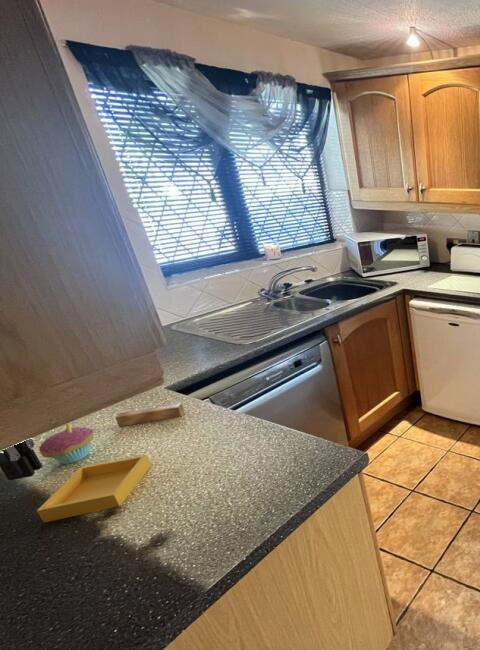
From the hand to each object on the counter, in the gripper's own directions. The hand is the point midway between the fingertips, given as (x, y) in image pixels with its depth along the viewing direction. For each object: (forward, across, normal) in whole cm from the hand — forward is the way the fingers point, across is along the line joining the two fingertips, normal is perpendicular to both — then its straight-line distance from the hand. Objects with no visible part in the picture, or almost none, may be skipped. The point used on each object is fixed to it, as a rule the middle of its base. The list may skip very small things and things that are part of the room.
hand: (26, 473), depth 66 cm
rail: (+15, -38, -3) cm, 41 cm away
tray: (+15, -11, 0) cm, 19 cm away
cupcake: (+15, -26, -13) cm, 33 cm away
